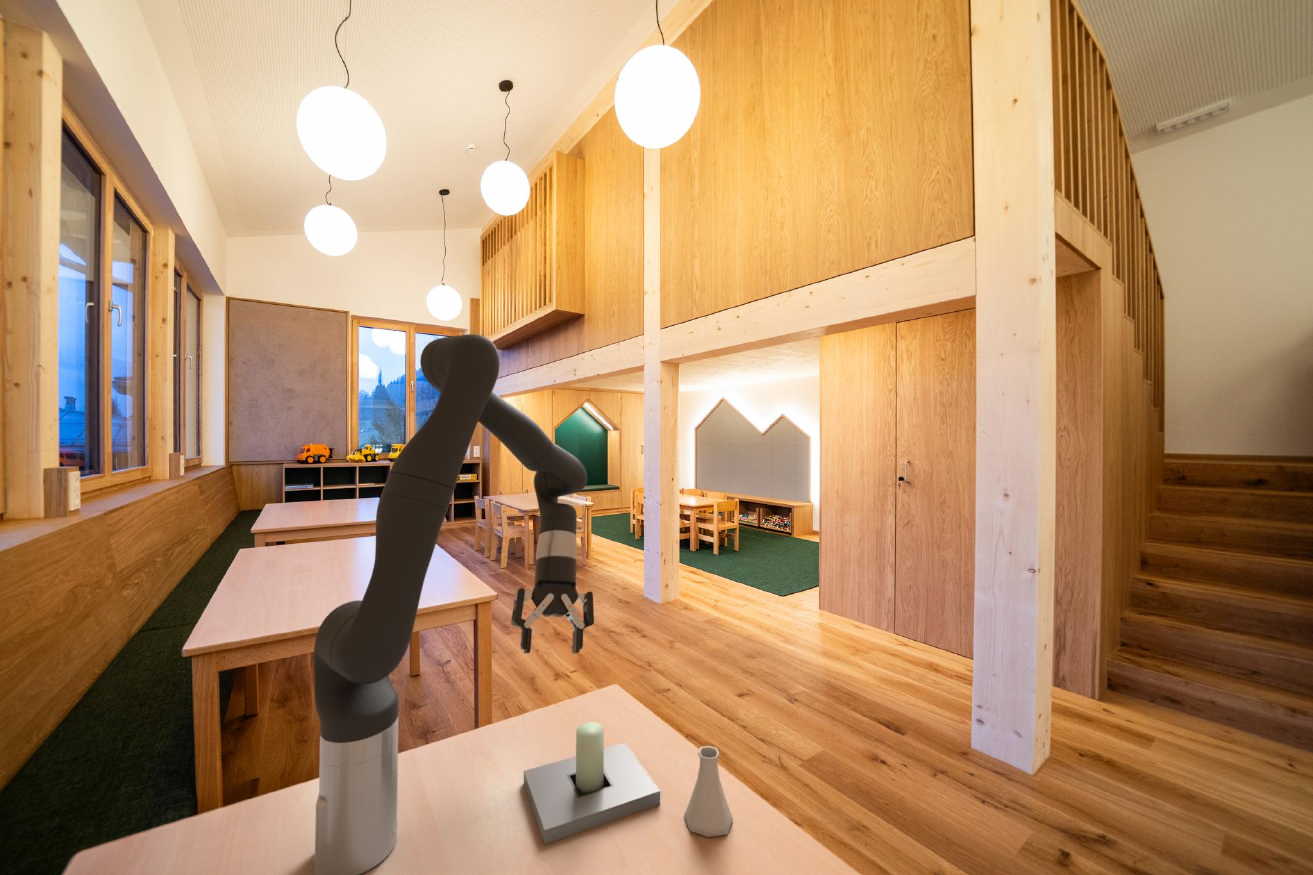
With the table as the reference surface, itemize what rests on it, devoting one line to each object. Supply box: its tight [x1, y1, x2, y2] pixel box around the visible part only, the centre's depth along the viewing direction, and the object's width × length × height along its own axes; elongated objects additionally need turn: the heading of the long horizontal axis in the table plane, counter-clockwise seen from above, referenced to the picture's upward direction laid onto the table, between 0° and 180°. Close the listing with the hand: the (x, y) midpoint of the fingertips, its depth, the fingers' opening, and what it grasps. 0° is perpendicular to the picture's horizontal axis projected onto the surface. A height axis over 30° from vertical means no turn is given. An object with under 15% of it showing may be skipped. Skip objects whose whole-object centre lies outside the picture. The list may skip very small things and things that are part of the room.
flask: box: [683, 745, 734, 838], centre depth 74 cm, size 7×7×10 cm
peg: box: [575, 721, 605, 796], centre depth 79 cm, size 4×4×10 cm
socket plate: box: [523, 742, 661, 846], centre depth 79 cm, size 18×14×2 cm
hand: (552, 653), depth 86 cm, fingers open, 8 cm apart
